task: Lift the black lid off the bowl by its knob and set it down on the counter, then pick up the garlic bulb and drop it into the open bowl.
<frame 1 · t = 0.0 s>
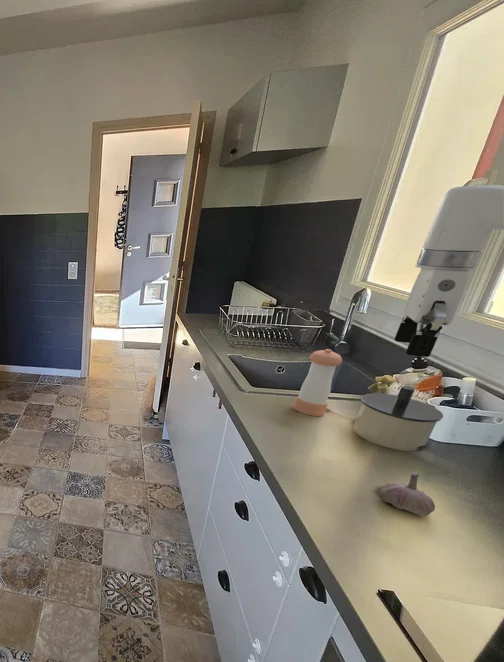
hand: (410, 348, 77), 29 cm above the worktop, tool pointing down, fingers open, 9 cm apart
pepper shaker: (308, 410, 114), on the worktop
garlic bulb: (402, 507, 77), on the worktop
bowl: (387, 436, 100), on the worktop
lid: (399, 407, 97), point 8 cm above the worktop, touching bowl
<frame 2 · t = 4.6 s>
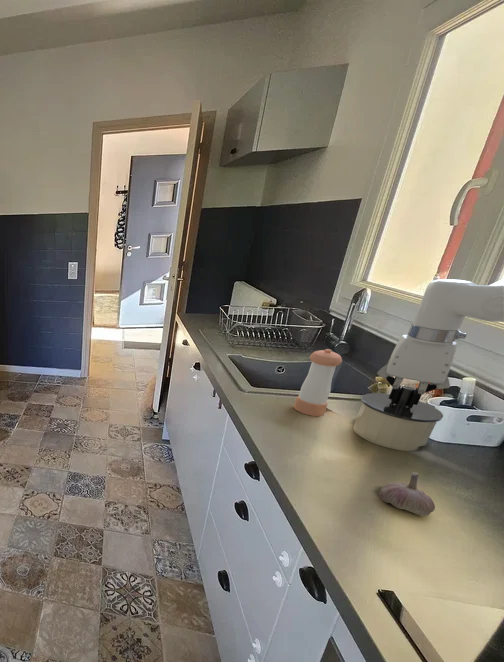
hand: (401, 403, 96), 10 cm above the worktop, tool pointing down, fingers closed on lid, 2 cm apart
lid: (399, 407, 97), point 9 cm above the worktop, touching bowl, gripper
everything else where it was.
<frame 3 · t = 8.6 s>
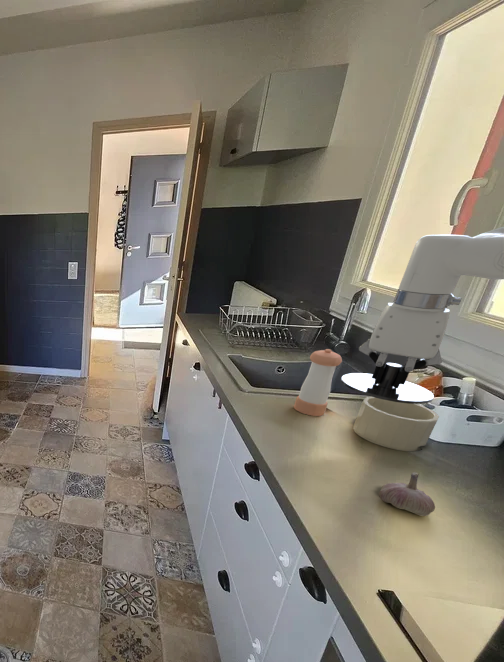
hand: (386, 383, 83), 20 cm above the worktop, tool pointing down, fingers closed on lid, 2 cm apart
lid: (384, 388, 84), point 19 cm above the worktop, touching gripper
everything else where it was.
when the fingers open (2 cm above the worktop, at t = 12.6 s): lid stays where it is, point 1 cm above the worktop.
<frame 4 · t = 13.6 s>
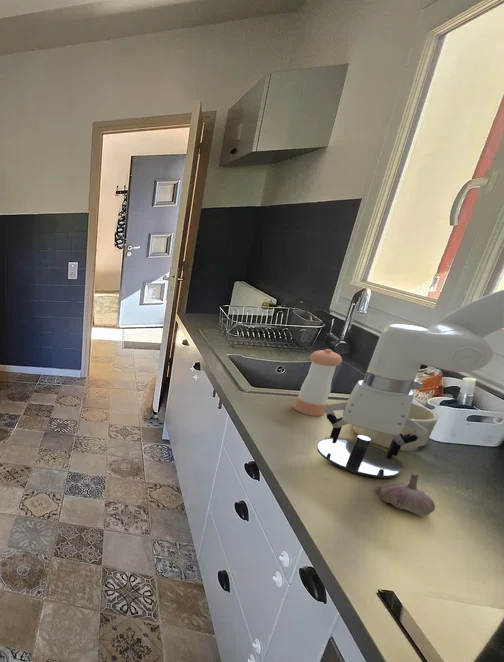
hand: (360, 448, 90), 3 cm above the worktop, tool pointing down, fingers open, 9 cm apart
lid: (356, 458, 91), point 1 cm above the worktop
everything else where it was.
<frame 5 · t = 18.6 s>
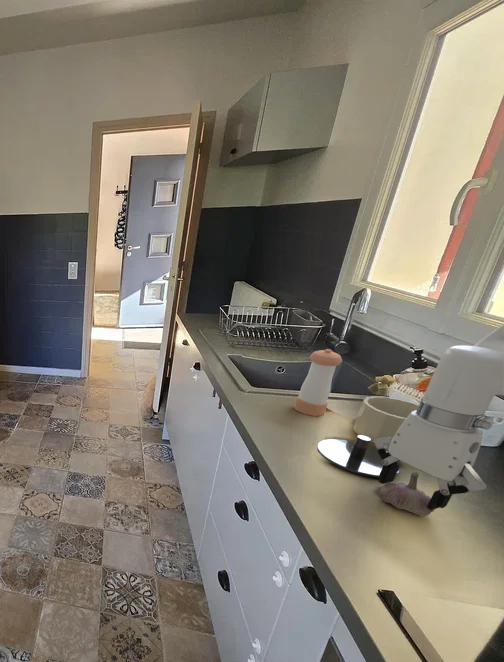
hand: (408, 493, 75), 3 cm above the worktop, tool pointing down, fingers closed on garlic bulb, 7 cm apart
garlic bulb: (402, 507, 77), on the worktop, touching gripper
everything else where it was.
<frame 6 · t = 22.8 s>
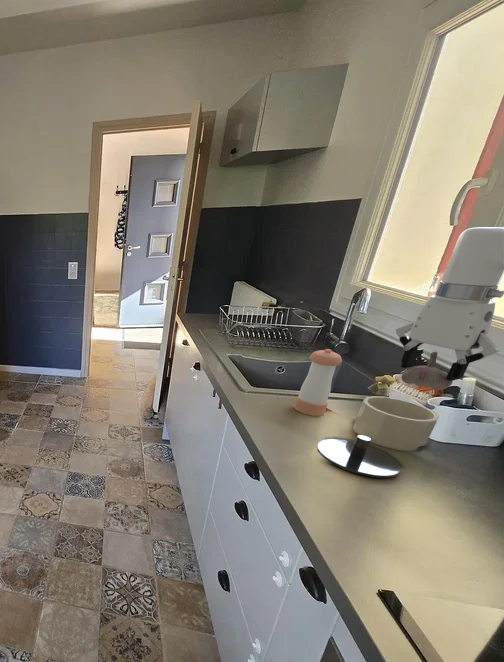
hand: (428, 372, 84), 22 cm above the worktop, tool pointing down, fingers closed on garlic bulb, 7 cm apart
garlic bulb: (422, 386, 86), point 18 cm above the worktop, touching gripper
everything else where it was.
when the fingers open (9 cm above the worktop, at t = 27.5 s): garlic bulb drops 5 cm, resting on bowl.
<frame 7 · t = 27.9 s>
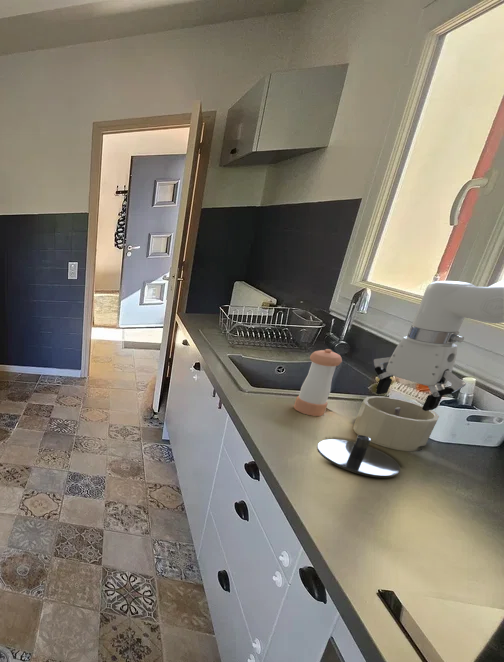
hand: (403, 401, 96), 10 cm above the worktop, tool pointing down, fingers open, 9 cm apart
garlic bulb: (388, 435, 100), resting on bowl
everything else where it was.
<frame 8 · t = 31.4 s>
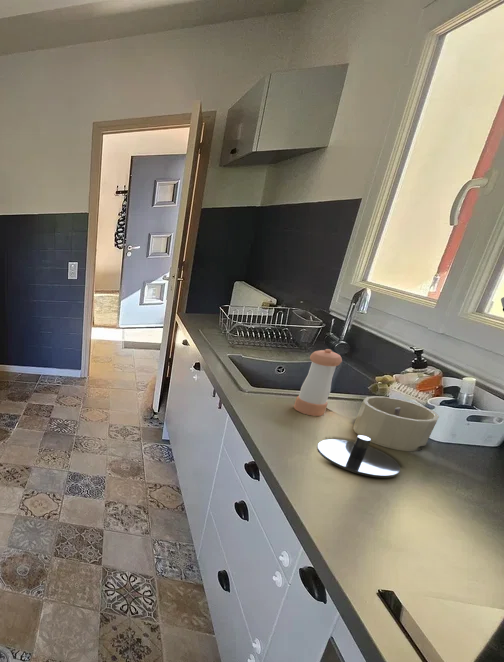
nothing on the worktop moved.
at the end: lid inside the target area (0.0 cm from its centre), point 0.6 cm above the worktop; lid tilted 0°; garlic bulb inside the target area in the bowl (0.2 cm from its centre), point 0.3 cm above the bowl's base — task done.
